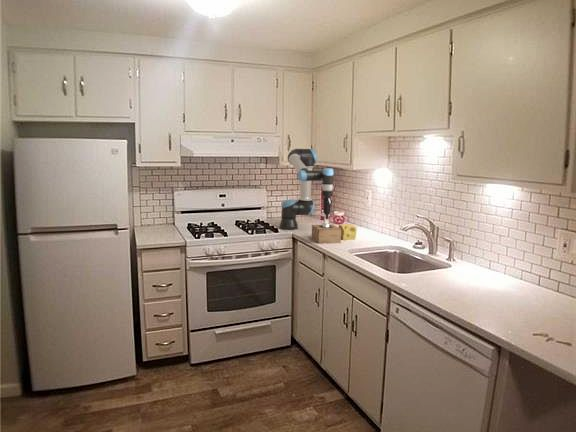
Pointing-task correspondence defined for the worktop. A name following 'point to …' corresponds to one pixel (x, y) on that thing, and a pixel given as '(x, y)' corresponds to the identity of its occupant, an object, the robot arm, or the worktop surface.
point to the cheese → (348, 232)
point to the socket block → (326, 234)
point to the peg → (326, 224)
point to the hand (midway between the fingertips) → (326, 223)
